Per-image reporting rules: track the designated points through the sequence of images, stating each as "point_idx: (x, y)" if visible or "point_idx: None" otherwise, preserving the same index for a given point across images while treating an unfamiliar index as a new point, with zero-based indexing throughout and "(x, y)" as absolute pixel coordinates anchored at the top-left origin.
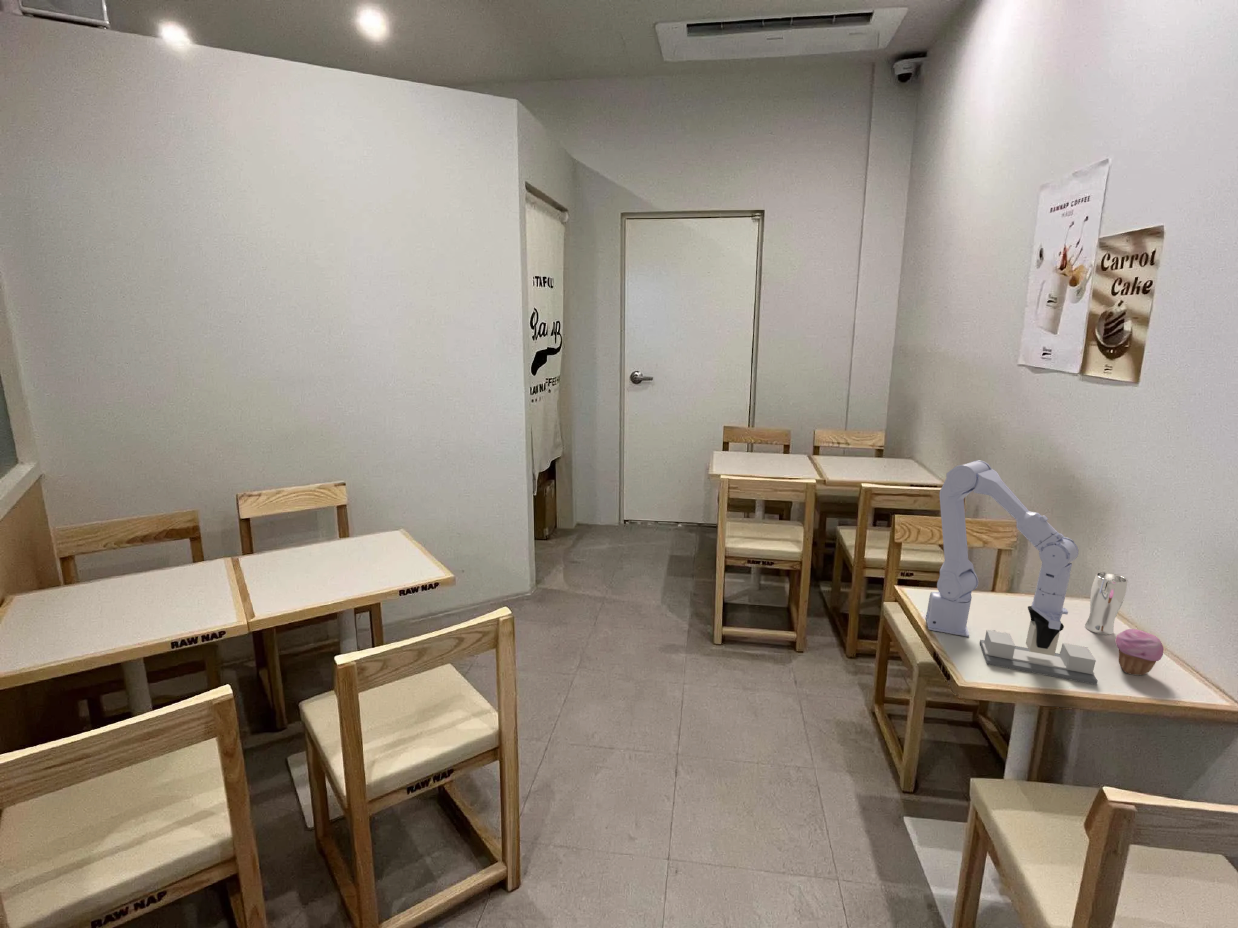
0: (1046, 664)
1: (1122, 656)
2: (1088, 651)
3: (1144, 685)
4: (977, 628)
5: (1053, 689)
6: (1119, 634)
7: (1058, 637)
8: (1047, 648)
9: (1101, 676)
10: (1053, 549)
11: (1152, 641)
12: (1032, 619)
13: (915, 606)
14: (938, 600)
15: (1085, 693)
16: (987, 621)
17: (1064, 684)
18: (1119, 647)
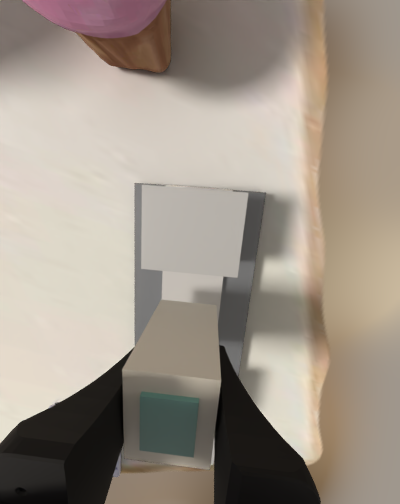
0: (219, 306)
1: (136, 43)
2: (180, 194)
3: (228, 35)
4: (65, 383)
5: (310, 310)
6: None
7: (219, 356)
8: (223, 346)
9: (210, 161)
10: None
11: None
12: (116, 458)
13: None
14: None
15: (314, 241)
16: (15, 353)
17: (280, 277)
18: (119, 28)
